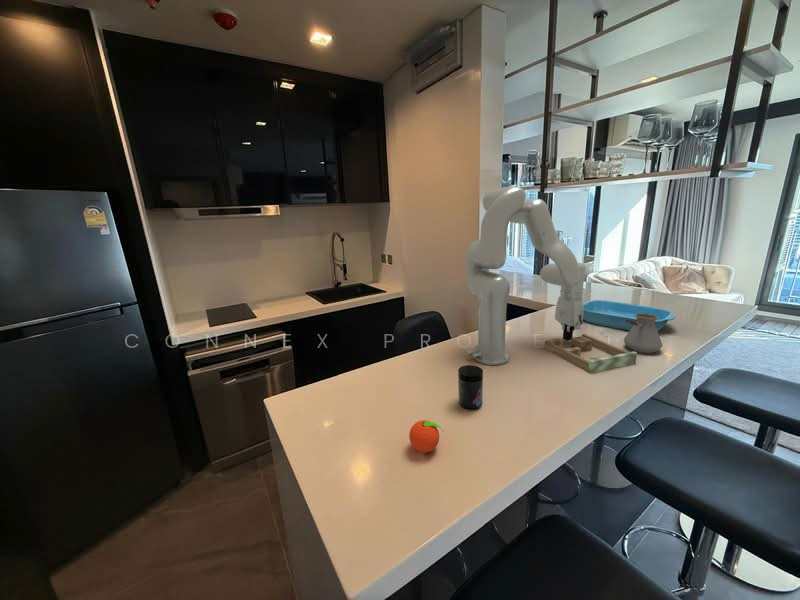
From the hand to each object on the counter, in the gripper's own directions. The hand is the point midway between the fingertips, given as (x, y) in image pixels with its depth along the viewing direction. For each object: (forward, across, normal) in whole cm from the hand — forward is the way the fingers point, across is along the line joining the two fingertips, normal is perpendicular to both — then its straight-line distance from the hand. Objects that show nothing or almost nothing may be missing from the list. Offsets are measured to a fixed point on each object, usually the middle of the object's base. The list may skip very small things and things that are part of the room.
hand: (567, 339), depth 131 cm
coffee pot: (+1, +17, +14) cm, 22 cm away
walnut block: (+1, +7, 0) cm, 7 cm away
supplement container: (+1, +25, -56) cm, 62 cm away
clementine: (+1, +38, -74) cm, 83 cm away
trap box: (+1, +12, -3) cm, 13 cm away
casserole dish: (+2, -8, +37) cm, 38 cm away
